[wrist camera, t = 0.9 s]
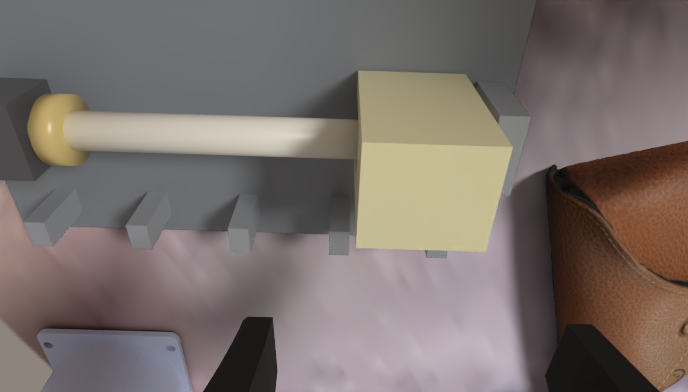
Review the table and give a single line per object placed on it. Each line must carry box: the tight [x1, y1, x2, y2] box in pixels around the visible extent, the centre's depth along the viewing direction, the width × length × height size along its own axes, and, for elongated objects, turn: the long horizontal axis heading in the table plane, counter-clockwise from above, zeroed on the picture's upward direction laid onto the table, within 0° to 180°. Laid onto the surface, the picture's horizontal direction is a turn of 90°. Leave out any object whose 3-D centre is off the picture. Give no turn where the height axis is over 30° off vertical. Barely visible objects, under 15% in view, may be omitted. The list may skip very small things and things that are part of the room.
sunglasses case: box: [546, 141, 688, 392], centre depth 24 cm, size 18×7×7 cm, turn 17°
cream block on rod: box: [354, 70, 513, 252], centre depth 16 cm, size 4×4×6 cm
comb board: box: [0, 0, 537, 258], centre depth 17 cm, size 21×12×4 cm, turn 88°
